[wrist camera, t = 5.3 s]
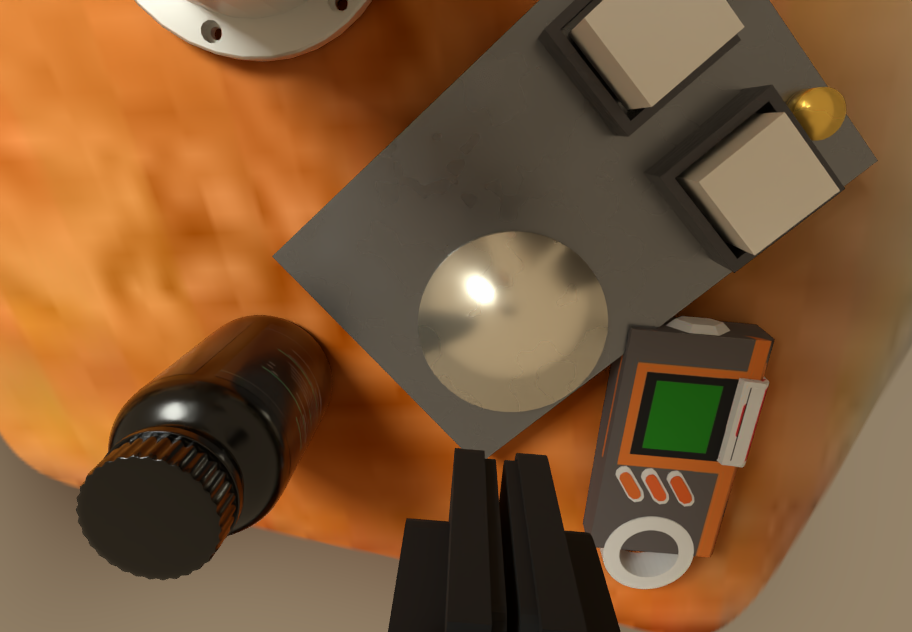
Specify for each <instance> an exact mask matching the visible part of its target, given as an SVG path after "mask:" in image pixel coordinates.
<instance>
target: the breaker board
mask: <svg viewBox="0 0 912 632" xmlns="http://www.w3.org/2000/svg"><path fill="white" fill-rule="evenodd" d="M602 1H603V0H539V1H538V2H537V3H536V4H535V5H534V6H533V7H532V8H531V9H530V10H529V11H528V12H527V13H526V14H525V15H524V16H523V17H522V18H520V19H519V20H518V21H517V22H516V23H515V24H514V25H513V26H512V27H511V28H510V29H509V30H508V31H507V32H506V33H505V34H504V35H503V36H502V37H501V38H500V39H499V40H498V41H496V42H495V43H494V44H493V45H492V46H491V47H490V48H489V49H488V50H487V51H486V52H485V53H484V54H483V55H482V56H481V57H480V58H479V59H478V60H477V61H476V62H475V63H474V64H472V65H471V66H470V67H469V68H468V69H467V70H466V71H465V72H464V73H463V74H462V75H461V76H460V77H459V78H458V79H457V80H456V81H455V82H454V83H453V84H452V85H451V86H450V87H449V88H447V89H446V90H445V91H444V92H443V93H442V94H441V95H440V96H439V97H438V98H437V99H436V100H435V101H434V102H433V103H432V104H431V105H430V106H429V107H428V108H427V109H426V110H425V111H423V112H422V113H421V114H420V115H419V116H418V117H417V118H416V119H415V120H414V121H413V122H412V123H411V124H410V125H409V126H408V127H407V128H406V129H405V130H404V131H403V132H402V133H401V134H399V135H398V136H397V137H396V138H395V139H394V140H393V141H392V142H391V143H390V144H389V145H388V146H387V147H386V148H385V149H384V150H383V151H382V152H381V153H380V154H379V155H378V156H377V157H375V158H374V159H373V160H372V161H371V162H370V163H369V164H368V165H367V166H366V167H365V168H364V169H363V170H362V171H361V172H360V173H359V174H358V175H357V176H356V177H355V178H354V179H353V180H351V181H350V182H349V183H348V184H347V185H346V186H345V187H344V188H343V189H342V190H341V191H340V192H339V193H338V194H337V195H336V196H335V197H334V198H333V199H332V200H331V201H330V202H329V203H328V204H326V205H325V206H324V207H323V208H322V209H321V210H320V211H319V212H318V213H317V214H316V215H315V216H314V217H313V218H312V219H311V220H310V221H309V222H308V223H307V224H306V225H305V226H304V227H302V228H301V229H300V230H299V231H298V232H297V233H296V234H295V235H294V236H293V237H292V238H291V239H290V240H289V241H288V242H287V243H286V244H285V245H284V246H283V247H282V248H281V249H280V250H278V251H277V252H276V253H275V254H274V255H273V256H272V257H273V258H274V259H275V260H276V261H277V262H278V263H279V264H280V265H281V266H282V267H283V268H284V269H285V270H286V271H287V272H288V273H289V274H290V275H291V276H292V277H293V278H294V279H295V280H296V281H297V282H298V283H299V284H300V285H301V286H302V287H303V288H304V289H305V290H306V291H307V292H308V293H309V294H310V295H311V296H312V297H313V298H314V299H315V300H316V301H317V302H318V303H319V304H320V305H321V306H322V307H323V308H324V309H325V310H326V311H327V312H328V313H329V314H330V315H331V316H332V317H333V318H334V319H335V320H336V321H337V322H338V323H339V324H340V325H341V326H342V328H343V329H344V330H345V331H346V332H347V333H348V334H349V335H350V336H351V337H352V338H353V339H354V340H355V341H356V342H357V343H358V344H359V345H360V346H361V347H362V348H363V349H364V350H365V351H366V352H367V353H368V354H369V355H370V356H371V357H372V358H373V359H374V360H375V361H376V362H377V363H378V364H379V365H380V366H381V367H382V368H383V369H384V370H385V371H386V372H387V373H388V374H389V375H390V376H391V377H392V378H393V379H394V380H395V381H396V382H397V383H398V384H399V385H400V386H401V387H402V388H403V389H404V390H405V391H406V392H407V393H408V394H409V395H410V396H411V397H412V399H413V400H414V401H415V402H416V403H417V404H418V405H419V406H420V407H421V408H422V409H423V410H424V411H425V412H426V413H427V414H428V415H429V416H430V417H431V418H432V419H433V420H434V421H435V422H436V423H437V424H438V425H439V426H440V427H441V428H442V429H443V430H444V431H445V432H446V433H447V434H448V435H449V436H450V437H451V438H452V439H453V440H454V441H455V442H456V443H457V444H458V445H459V446H460V447H461V448H462V449H472V450H484V451H485V459H486V458H488V457H489V456H490V455H492V454H493V453H494V452H495V451H497V450H498V449H499V448H501V447H502V446H503V445H505V444H506V443H507V442H509V441H510V440H511V439H513V438H514V437H515V436H517V435H518V434H519V433H520V432H522V431H523V430H524V429H526V428H527V427H528V426H530V425H531V424H532V423H534V422H535V421H536V420H538V419H539V418H540V417H541V416H543V415H544V414H545V413H547V412H548V411H549V410H551V409H552V408H553V407H555V406H556V405H557V404H559V403H560V402H561V401H563V400H564V399H565V398H566V397H568V396H569V395H570V394H572V393H573V392H574V391H576V390H577V389H578V388H580V387H581V386H582V385H584V384H585V383H586V382H587V381H589V380H590V379H591V378H593V377H594V376H595V375H597V374H598V373H599V372H601V371H602V370H603V369H605V368H606V367H607V366H609V365H610V364H611V363H612V362H614V361H615V360H616V359H618V358H619V357H620V356H622V355H623V354H624V353H625V351H626V345H627V340H628V334H629V329H630V326H635V327H646V328H658V327H660V326H661V325H662V324H664V323H665V322H666V321H668V320H669V319H670V318H672V317H673V316H674V315H676V314H677V313H678V312H679V311H681V310H682V309H683V308H685V307H686V306H687V305H689V304H690V303H691V302H693V301H694V300H695V299H697V298H698V297H699V296H701V295H702V294H703V293H704V292H706V291H707V290H708V289H710V288H711V287H712V286H714V285H715V284H716V283H718V282H719V281H720V280H722V279H723V278H724V277H725V276H727V275H728V274H729V273H731V272H734V273H735V272H736V271H738V270H739V269H740V268H741V267H743V266H744V265H745V264H747V263H748V262H749V261H751V260H752V259H753V258H755V257H756V256H757V255H759V254H760V253H761V252H763V251H764V250H765V249H766V248H768V247H769V246H770V245H772V244H773V243H774V242H776V241H777V240H778V239H780V238H781V237H782V236H784V235H785V234H786V233H788V232H789V231H790V230H791V229H793V228H794V227H795V226H797V225H798V224H799V223H801V222H802V221H803V220H805V219H806V218H807V217H809V216H810V215H811V214H813V213H814V212H815V211H816V210H818V209H819V208H820V207H822V206H823V205H824V204H826V203H827V202H828V201H830V200H831V199H832V198H834V197H835V196H836V195H838V194H839V193H840V192H842V191H843V190H844V189H845V187H844V186H845V185H846V184H848V183H849V182H850V181H852V180H853V179H854V178H856V177H857V176H858V175H860V174H861V173H862V172H863V171H865V170H866V169H867V168H869V167H870V166H871V165H873V164H874V163H875V162H877V161H878V160H877V159H876V157H875V156H874V154H873V153H872V151H871V150H870V148H869V147H868V145H867V144H866V142H865V141H864V140H863V138H862V137H861V135H860V134H859V132H858V131H857V129H856V128H855V126H854V125H853V123H852V122H851V120H850V119H849V117H848V116H847V114H846V103H845V100H844V98H843V96H842V95H841V93H839V92H838V91H837V90H835V89H833V88H830V87H828V86H827V85H826V83H825V82H824V80H823V79H822V78H821V76H820V75H819V73H818V72H817V70H816V69H815V67H814V66H813V64H812V63H811V61H810V60H809V58H808V57H807V55H806V54H805V52H804V51H803V49H802V48H801V47H800V45H799V44H798V42H797V41H796V39H795V38H794V36H793V35H792V33H791V32H790V30H789V29H788V27H787V26H786V24H785V23H784V21H783V20H782V18H781V17H780V16H779V14H778V13H777V11H776V10H775V8H774V7H773V5H772V4H771V2H770V1H769V0H726V1H727V2H728V4H729V5H730V7H731V8H732V10H733V11H734V12H735V14H736V15H737V17H738V18H739V20H740V21H741V22H742V24H743V25H744V28H743V29H742V30H740V31H739V32H738V33H737V34H736V35H735V36H734V37H732V38H731V39H730V40H729V41H728V42H727V43H725V44H724V45H723V46H722V47H721V48H720V49H718V50H717V51H716V52H715V53H714V54H713V55H711V56H710V57H709V58H708V59H707V60H706V61H705V62H703V63H702V64H701V65H700V66H699V67H698V68H696V69H695V70H694V71H693V72H692V73H691V74H689V75H688V76H687V77H686V78H685V79H684V80H683V81H681V82H680V83H679V84H678V85H677V86H676V87H674V88H673V89H672V90H671V91H670V92H669V93H667V94H666V95H665V96H664V97H663V98H662V99H660V100H659V101H658V102H657V103H656V104H655V105H654V106H652V107H646V108H638V109H629V110H626V108H625V107H624V106H623V105H622V103H621V102H620V101H619V99H618V98H617V97H616V95H615V94H614V93H613V92H612V90H611V89H610V88H609V86H608V85H607V84H606V83H605V81H604V80H603V79H602V77H601V76H600V75H599V73H598V72H597V71H596V70H595V68H594V67H593V66H592V64H591V63H590V62H589V60H588V59H587V58H586V57H585V55H584V54H583V53H582V51H581V50H580V49H579V47H578V46H577V45H576V44H575V42H574V41H573V40H572V38H571V37H570V36H569V35H568V34H569V33H570V32H571V31H572V30H573V29H574V28H575V27H576V26H577V25H578V24H579V23H580V22H581V21H582V20H583V19H584V18H585V17H586V16H587V15H588V14H589V13H590V12H591V11H592V10H593V9H594V8H595V7H596V6H597V5H599V4H600V3H601V2H602ZM777 112H785V113H786V114H787V116H788V117H789V119H790V120H791V122H792V123H793V124H794V126H795V127H796V129H797V130H798V132H799V133H800V134H801V136H802V137H803V139H804V140H805V142H806V143H807V144H808V146H809V147H810V149H811V150H812V151H813V153H814V154H815V156H816V157H817V159H818V160H819V161H820V163H821V164H822V166H823V167H824V169H825V170H826V171H827V173H828V174H829V176H830V177H831V178H832V180H833V181H834V183H835V184H836V186H837V187H838V188H839V190H840V191H839V192H838V193H836V194H835V195H834V196H832V197H831V198H830V199H828V200H827V201H826V202H824V203H823V204H822V205H820V206H819V207H818V208H817V209H815V210H814V211H813V212H811V213H810V214H809V215H807V216H806V217H805V218H803V219H802V220H801V221H799V222H798V223H797V224H796V225H794V226H793V227H792V228H790V229H789V230H788V231H786V232H785V233H784V234H782V235H781V236H780V237H778V238H777V239H776V240H774V241H773V242H772V243H771V244H769V245H768V246H767V247H765V248H764V249H763V250H761V251H760V252H759V253H757V254H756V255H752V254H750V253H748V252H746V251H744V250H742V249H739V248H737V247H735V246H733V245H731V244H729V243H726V242H724V241H723V240H722V239H721V237H720V236H719V235H718V233H717V232H716V231H715V230H714V228H713V227H712V226H711V224H710V223H709V222H708V220H707V219H706V218H705V217H704V215H703V214H702V213H701V211H700V210H699V209H698V208H697V206H696V205H695V204H694V202H693V201H692V200H691V198H690V197H689V196H688V195H687V193H686V192H685V191H684V189H683V188H682V187H681V186H680V184H679V183H678V182H677V180H676V179H675V178H676V177H677V176H678V175H680V174H681V173H682V172H683V171H684V170H686V169H687V168H688V167H689V166H690V165H692V164H693V163H694V162H695V161H697V160H698V159H699V158H700V157H701V156H703V155H704V154H705V153H706V152H707V151H709V150H710V149H711V148H712V147H714V146H715V145H716V144H717V143H718V142H720V141H721V140H722V139H723V138H725V137H726V136H727V135H728V134H729V133H731V132H732V131H733V130H734V129H735V128H737V127H738V126H739V125H740V124H742V123H743V122H744V121H745V120H746V119H748V118H749V117H750V116H751V115H753V114H757V113H777Z"/></svg>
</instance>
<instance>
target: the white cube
mask: <svg viewBox="0 0 912 632" xmlns="http://www.w3.org/2000/svg"><path fill="white" fill-rule="evenodd" d="M675 179H676V180H677V182H678V183H679V184H680V186H681V187H682V188H683V189H684V191H685V192H686V193H687V195H688V196H689V197H690V198H691V200H692V201H693V202H694V204H695V205H696V206H697V208H698V209H699V210H700V211H701V213H702V214H703V215H704V217H705V218H706V219H707V220H708V222H709V223H710V224H711V226H712V227H713V228H714V230H715V231H716V232H717V233H718V235H719V236H720V237H721V239H722V240H723V241H724V242H726V243H729V244H731V245H733V246H735V247H737V248H739V249H742V250H744V251H746V252H748V253H750V254H752V255H756V254H757V253H759V252H760V251H761V250H763V249H764V248H765V247H767V246H768V245H769V244H771V243H772V242H773V241H774V240H776V239H777V238H778V237H780V236H781V235H782V234H784V233H785V232H786V231H788V230H789V229H790V228H792V227H793V226H794V225H796V224H797V223H798V222H799V221H801V220H802V219H803V218H805V217H806V216H807V215H809V214H810V213H811V212H813V211H814V210H815V209H817V208H818V207H819V206H820V205H822V204H823V203H824V202H826V201H827V200H828V199H830V198H831V197H832V196H834V195H835V194H836V193H838V192H839V191H840V190H839V188H838V187H837V186H836V184H835V183H834V181H833V180H832V178H831V177H830V176H829V174H828V173H827V171H826V170H825V169H824V167H823V166H822V164H821V163H820V161H819V160H818V159H817V157H816V156H815V154H814V153H813V151H812V150H811V149H810V147H809V146H808V144H807V143H806V142H805V140H804V139H803V137H802V136H801V134H800V133H799V132H798V130H797V129H796V127H795V126H794V124H793V123H792V122H791V120H790V119H789V117H788V116H787V114H786V113H785V112H777V113H757V114H753V115H751V116H750V117H749V118H748V119H746V120H745V121H744V122H743V123H742V124H740V125H739V126H738V127H737V128H735V129H734V130H733V131H732V132H731V133H729V134H728V135H727V136H726V137H725V138H723V139H722V140H721V141H720V142H718V143H717V144H716V145H715V146H714V147H712V148H711V149H710V150H709V151H707V152H706V153H705V154H704V155H703V156H701V157H700V158H699V159H698V160H697V161H695V162H694V163H693V164H692V165H690V166H689V167H688V168H687V169H686V170H684V171H683V172H682V173H681V174H680V175H678V176H677V177H676V178H675Z"/></svg>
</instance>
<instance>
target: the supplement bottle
mask: <svg viewBox="0 0 912 632" xmlns="http://www.w3.org/2000/svg"><path fill="white" fill-rule="evenodd" d="M331 394H332V373H331V368H330V365H329V362H328V359H327V357H326V355H325V353H324V351H323V350H322V348H321V347H320V345H319V344H318V343H317V341H316V340H315V339H314V338H313V337H312V336H311V335H310V334H308V333H307V332H306V331H305V330H303V329H302V328H301V327H299V326H297V325H296V324H294V323H292V322H290V321H287V320H284V319H281V318H278V317H273V316H266V315H254V316H246V317H242V318H238V319H235V320H233V321H231V322H229V323H227V324H225V325H223V326H222V327H220V328H219V329H218V330H216V331H215V332H213V333H212V334H211V335H209V336H208V337H207V338H205V339H204V340H203V341H202V342H200V343H199V344H198V345H197V346H195V347H194V348H193V349H191V350H190V351H189V352H188V353H186V354H185V355H184V356H182V357H181V358H180V359H179V360H177V361H176V362H175V363H174V364H172V365H171V366H170V367H168V368H167V369H166V370H165V371H163V372H162V373H161V374H159V375H158V376H157V377H156V378H154V379H153V380H152V381H151V382H149V383H148V384H147V385H145V386H144V387H143V388H142V389H140V390H139V391H138V392H137V393H136V394H135V395H134V396H133V397H132V398H131V399H129V400H128V402H127V403H126V404H125V405H124V406H123V408H122V409H121V410H120V412H119V413H118V415H117V417H116V419H115V421H114V424H113V426H112V429H111V433H110V437H109V444H108V453H107V454H106V456H105V457H104V459H103V460H102V461H101V462H100V463H99V464H98V465H97V466H96V467H95V468H94V469H93V470H92V471H90V472H89V474H88V475H87V477H86V480H85V481H84V482H83V483H82V485H81V486H80V494H79V495H78V497H77V502H78V506H77V508H76V511H77V514H78V516H79V519H78V522H79V524H80V526H81V527H82V530H83V531H82V532H83V535H84V536H85V537H86V538H87V539H88V541H89V544H90V546H92V547H93V548H94V549H96V551H97V552H98V554H99V555H100V556H101V557H103V558H105V559H106V560H107V561H108V562H109V563H110V564H111V565H114V566H117V567H118V568H120V569H121V570H122V571H124V572H130V573H132V574H133V575H135V576H143V577H146V578H148V579H155V578H157V579H160V580H166V579H168V578H173V579H177V578H179V577H180V576H182V575H189V574H190V573H191V572H192V571H194V570H198V569H200V568H201V567H202V566H203V565H204V563H207V562H208V561H210V560H211V559H212V557H213V556H214V554H215V552H216V551H217V550H218V549H219V547H220V546H221V544H222V543H223V541H224V539H225V538H226V537H227V536H229V535H233V534H235V533H238V532H241V531H243V530H245V529H247V528H249V527H251V526H252V525H254V524H256V523H257V522H259V521H260V520H261V519H263V518H264V517H265V516H266V515H267V514H268V513H269V512H270V511H271V510H272V508H273V507H274V506H275V504H276V503H277V501H278V500H279V498H280V497H281V495H282V493H283V492H284V490H285V488H286V486H287V484H288V482H289V480H290V478H291V477H292V475H293V473H294V471H295V469H296V467H297V465H298V463H299V461H300V459H301V458H302V456H303V454H304V452H305V450H306V448H307V446H308V444H309V442H310V440H311V438H312V437H313V435H314V433H315V431H316V429H317V427H318V425H319V423H320V421H321V419H322V417H323V415H324V413H325V411H326V409H327V407H328V404H329V402H330V398H331Z"/></svg>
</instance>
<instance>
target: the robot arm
mask: <svg viewBox="0 0 912 632" xmlns="http://www.w3.org/2000/svg"><path fill="white" fill-rule="evenodd" d="M338 1H339V0H135V2H136V3H137V4H138V5H139V6H140V7H141V8H142V9H143V10H144V11H145V12H146V13H147V14H149V15H150V16H151V17H152V18H153V19H154V20H155V21H156V22H157V23H159V24H160V25H161V26H162V27H163V28H165V29H167V30H168V31H170V32H171V33H173V34H175V35H176V36H178V37H179V38H181V39H182V40H184V41H186V42H187V43H189V44H192V45H194V46H197V47H199V48H202V49H204V50H207V51H209V52H212V53H214V54H218V55H221V56H225V57H229V58H233V59H238V60H250V61H262V62H266V61H274V60H282V59H290V58H294V57H297V56H299V55H302V54H305V53H308V52H311V51H314V50H317V49H318V48H320V47H322V46H323V45H325V44H327V43H328V42H330V41H331V40H333V39H335V38H336V37H338V36H340V35H341V34H342V33H343V32H344V31H345V30H346V29H347V28H348V27H350V26H351V25H352V24H353V23H354V22H355V21H356V20H357V19H358V18H359V17H360V16H361V15H362V14H363V12H364V11H365V10H366V8H367V7H368V5H369V4H370V3H371V1H372V0H347V1H348V6H347V8H346V9H345V10H344V11H340V10H339V9H338V7H337V3H338ZM219 28H221V30H222V36H221V38H220V40H217V39H216V37H215V32H216V30H217V29H219ZM388 632H620V628H619V625H618V621H617V618H616V615H615V611H614V608H613V604H612V601H611V598H610V594H609V591H608V587H607V584H606V580H605V577H604V574H603V570H602V567H601V563H600V560H599V556H598V553H597V550H596V546H595V543H594V540H593V537H592V535H591V534H590V533H587V532H574V531H564V527H563V523H562V518H561V514H560V510H559V505H558V501H557V497H556V492H555V488H554V483H553V479H552V475H551V470H550V466H549V461H548V458H547V456H546V455H535V454H523V453H516V456H515V461H510V460H505V461H504V465H503V473H502V482H501V490H500V499H499V496H498V483H497V469H496V460H495V459H485V451H484V450H472V449H459V448H455V453H454V465H453V476H452V488H451V500H450V512H449V522H447V521H434V520H422V519H409V518H407V519H406V524H405V530H404V536H403V542H402V548H401V554H400V561H399V567H398V573H397V580H396V586H395V592H394V598H393V604H392V610H391V616H390V623H389V629H388Z"/></svg>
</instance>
